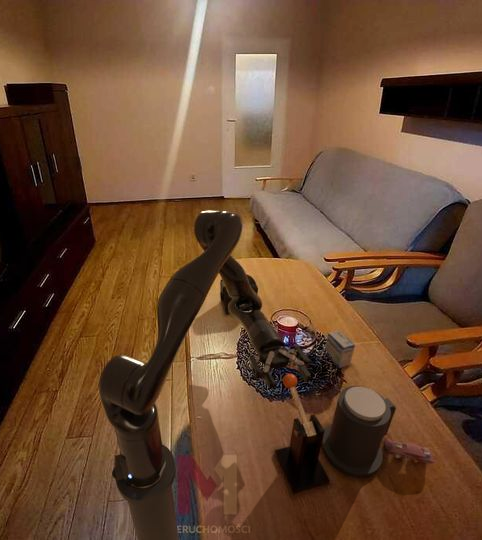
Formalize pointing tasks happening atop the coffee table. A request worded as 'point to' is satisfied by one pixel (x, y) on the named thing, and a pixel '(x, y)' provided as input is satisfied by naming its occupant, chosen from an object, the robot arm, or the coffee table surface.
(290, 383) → the orange knob lever
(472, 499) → the coffee table surface
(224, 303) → the camera
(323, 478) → the switch stand
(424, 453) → the pink elongated piece
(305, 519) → the coffee table surface
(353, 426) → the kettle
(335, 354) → the medicine box
